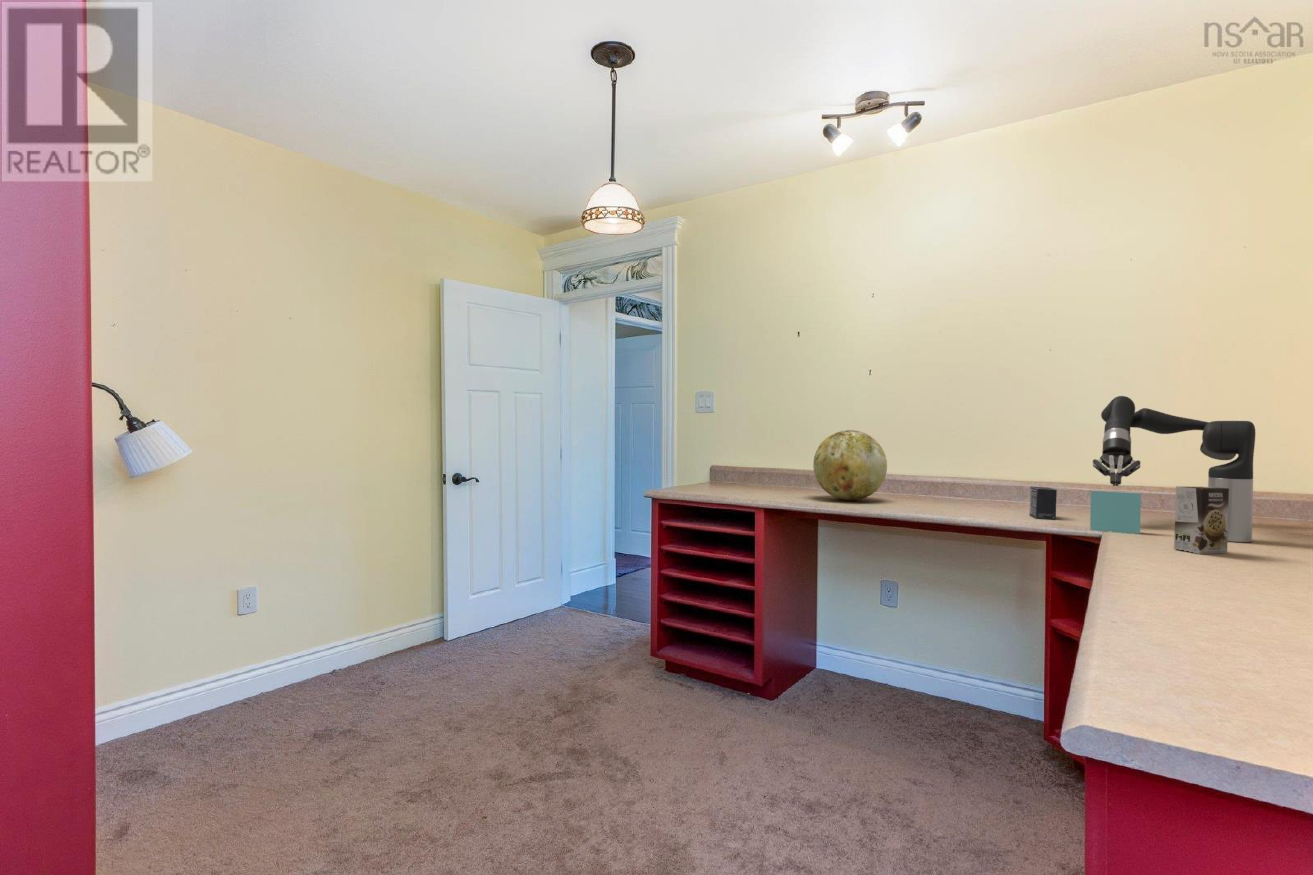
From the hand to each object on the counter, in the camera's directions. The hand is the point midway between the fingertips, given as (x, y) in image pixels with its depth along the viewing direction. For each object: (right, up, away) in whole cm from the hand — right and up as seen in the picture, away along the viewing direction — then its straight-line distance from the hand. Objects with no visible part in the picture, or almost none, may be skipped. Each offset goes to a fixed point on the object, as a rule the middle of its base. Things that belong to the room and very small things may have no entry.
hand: (1115, 484), depth 196 cm
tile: (-6, -14, -8) cm, 17 cm away
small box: (-9, -14, +22) cm, 27 cm away
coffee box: (-9, -14, -41) cm, 44 cm away
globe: (-62, -12, +70) cm, 95 cm away
